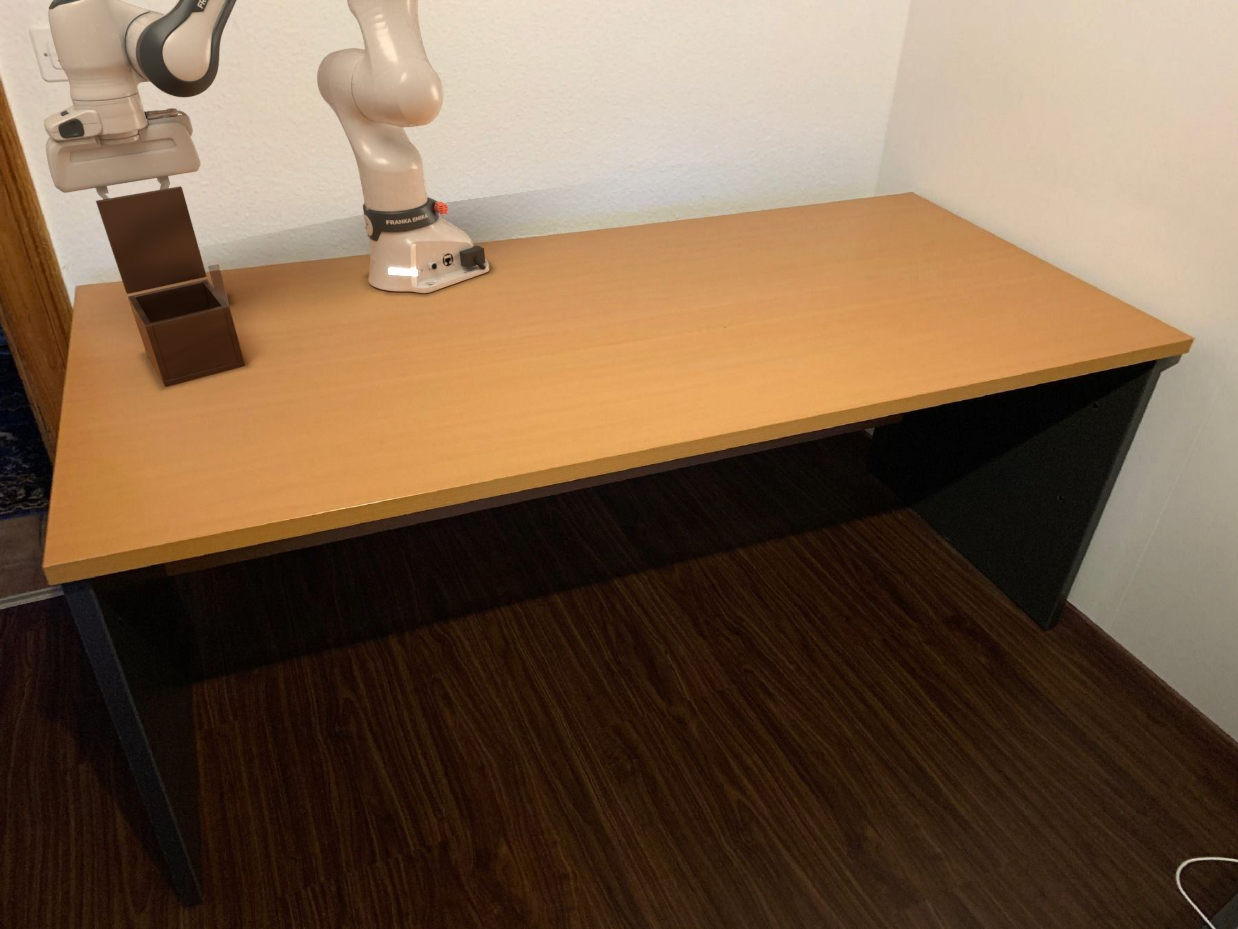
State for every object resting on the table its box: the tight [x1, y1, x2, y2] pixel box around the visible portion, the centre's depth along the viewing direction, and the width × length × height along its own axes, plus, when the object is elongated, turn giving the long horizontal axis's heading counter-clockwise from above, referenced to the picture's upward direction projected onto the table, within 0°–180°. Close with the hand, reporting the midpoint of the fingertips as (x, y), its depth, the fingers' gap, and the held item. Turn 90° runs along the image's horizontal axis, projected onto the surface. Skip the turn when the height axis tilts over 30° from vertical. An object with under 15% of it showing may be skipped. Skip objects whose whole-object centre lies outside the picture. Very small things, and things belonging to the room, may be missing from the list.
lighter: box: [207, 264, 230, 305], centre depth 160 cm, size 7×2×8 cm, turn 25°
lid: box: [95, 185, 207, 295], centre depth 141 cm, size 14×12×5 cm
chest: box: [127, 278, 246, 388], centre depth 141 cm, size 13×12×10 cm
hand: (140, 210), depth 140 cm, fingers closed on lid, 5 cm apart
